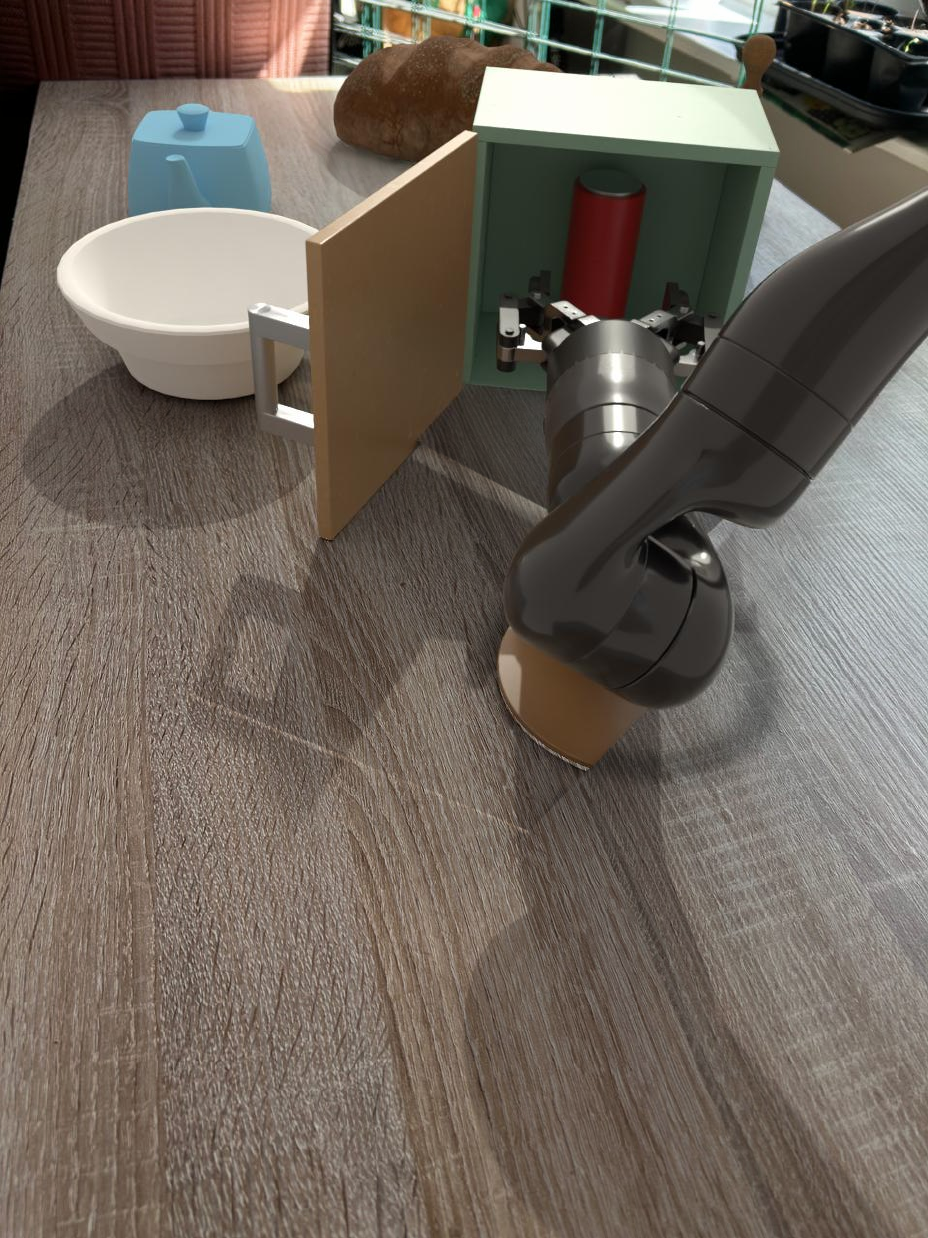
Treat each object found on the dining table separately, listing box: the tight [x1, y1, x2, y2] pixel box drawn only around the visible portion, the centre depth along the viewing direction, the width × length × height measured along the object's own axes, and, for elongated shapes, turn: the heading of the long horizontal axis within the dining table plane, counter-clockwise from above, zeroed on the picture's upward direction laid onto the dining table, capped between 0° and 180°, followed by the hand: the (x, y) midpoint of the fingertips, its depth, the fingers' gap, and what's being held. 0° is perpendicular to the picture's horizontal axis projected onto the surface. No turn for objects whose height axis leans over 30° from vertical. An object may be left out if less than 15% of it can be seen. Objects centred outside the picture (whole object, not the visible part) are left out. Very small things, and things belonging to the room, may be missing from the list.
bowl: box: [56, 208, 320, 401], centre depth 81 cm, size 21×21×8 cm
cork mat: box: [496, 625, 649, 769], centre depth 61 cm, size 15×15×1 cm
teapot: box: [127, 103, 273, 218], centre depth 96 cm, size 12×18×12 cm
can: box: [559, 170, 647, 319], centre depth 83 cm, size 5×5×14 cm
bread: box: [332, 35, 565, 163], centre depth 118 cm, size 16×29×11 cm, turn 85°
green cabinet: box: [462, 67, 781, 392], centre depth 81 cm, size 13×20×20 cm, turn 85°
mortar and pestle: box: [738, 33, 777, 100], centre depth 103 cm, size 7×6×18 cm
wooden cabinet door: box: [248, 130, 478, 541], centre depth 69 cm, size 6×20×20 cm, turn 155°
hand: (606, 288), depth 72 cm, fingers open, 8 cm apart
